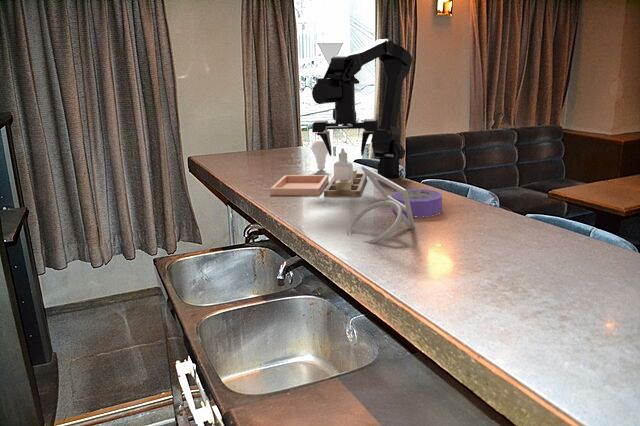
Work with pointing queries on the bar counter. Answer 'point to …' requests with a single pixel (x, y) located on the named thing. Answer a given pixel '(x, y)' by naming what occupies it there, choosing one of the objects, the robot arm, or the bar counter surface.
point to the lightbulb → (320, 153)
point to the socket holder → (356, 190)
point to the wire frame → (390, 201)
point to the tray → (300, 185)
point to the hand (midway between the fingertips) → (346, 155)
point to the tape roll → (421, 202)
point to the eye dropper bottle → (343, 168)
